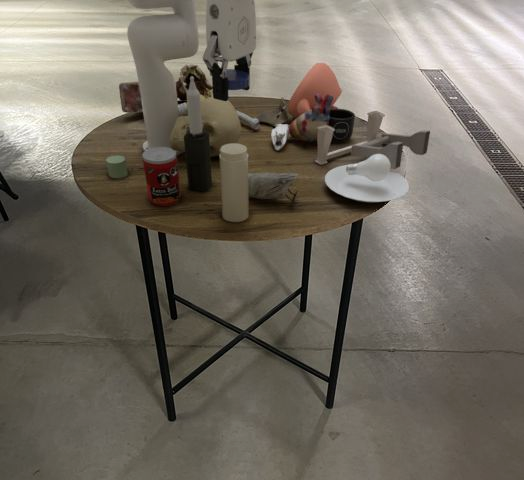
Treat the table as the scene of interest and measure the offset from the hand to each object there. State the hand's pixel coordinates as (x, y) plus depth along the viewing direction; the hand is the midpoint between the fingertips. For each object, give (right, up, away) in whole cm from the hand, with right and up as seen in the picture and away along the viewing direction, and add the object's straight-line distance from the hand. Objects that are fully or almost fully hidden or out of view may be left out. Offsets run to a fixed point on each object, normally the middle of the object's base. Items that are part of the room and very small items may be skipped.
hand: (231, 93), depth 93 cm
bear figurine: (-15, +39, +67) cm, 79 cm away
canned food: (-18, -13, +23) cm, 32 cm away
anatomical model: (+18, +13, +50) cm, 55 cm away
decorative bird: (+6, -13, +24) cm, 28 cm away
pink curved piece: (+18, +32, +55) cm, 66 cm away
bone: (0, +25, +59) cm, 64 cm away
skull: (-20, +10, +37) cm, 43 cm away
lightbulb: (+27, -4, +28) cm, 39 cm away
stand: (-32, -4, +32) cm, 45 cm away
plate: (+32, -10, +28) cm, 44 cm away
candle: (-10, -9, +28) cm, 31 cm away
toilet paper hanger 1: (+29, +10, +41) cm, 51 cm away
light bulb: (-22, +27, +61) cm, 70 cm away
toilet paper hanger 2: (+41, +9, +37) cm, 56 cm away
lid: (0, +2, -2) cm, 3 cm away
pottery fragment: (+6, +23, +63) cm, 68 cm away
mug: (+28, +15, +52) cm, 61 cm away
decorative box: (-34, +32, +64) cm, 79 cm away
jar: (0, -19, +18) cm, 26 cm away
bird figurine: (+10, +10, +42) cm, 45 cm away
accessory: (+19, +14, +50) cm, 55 cm away
